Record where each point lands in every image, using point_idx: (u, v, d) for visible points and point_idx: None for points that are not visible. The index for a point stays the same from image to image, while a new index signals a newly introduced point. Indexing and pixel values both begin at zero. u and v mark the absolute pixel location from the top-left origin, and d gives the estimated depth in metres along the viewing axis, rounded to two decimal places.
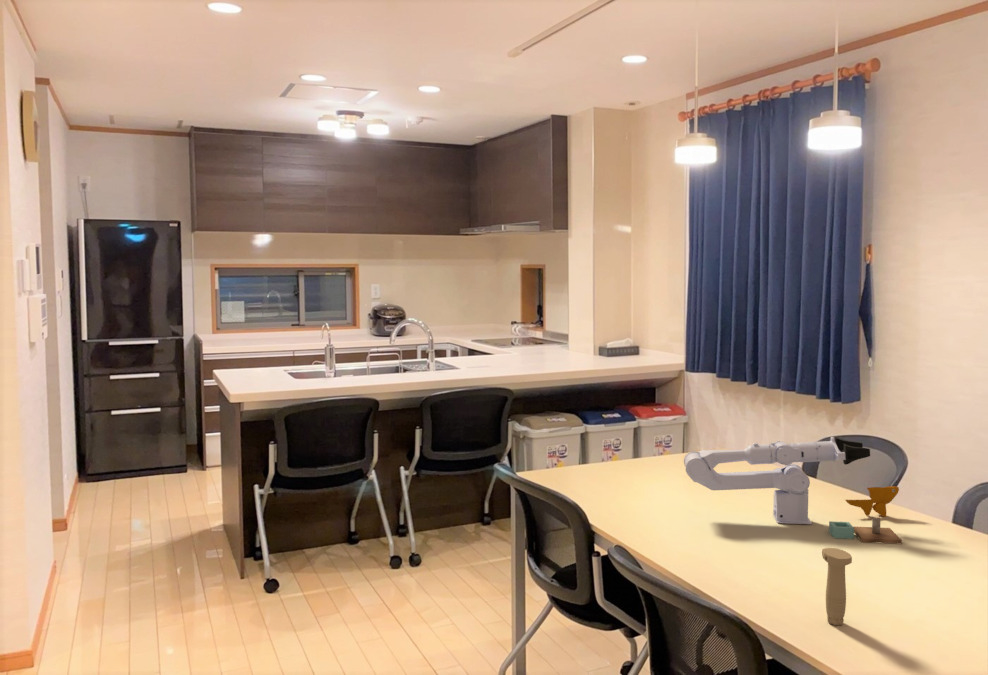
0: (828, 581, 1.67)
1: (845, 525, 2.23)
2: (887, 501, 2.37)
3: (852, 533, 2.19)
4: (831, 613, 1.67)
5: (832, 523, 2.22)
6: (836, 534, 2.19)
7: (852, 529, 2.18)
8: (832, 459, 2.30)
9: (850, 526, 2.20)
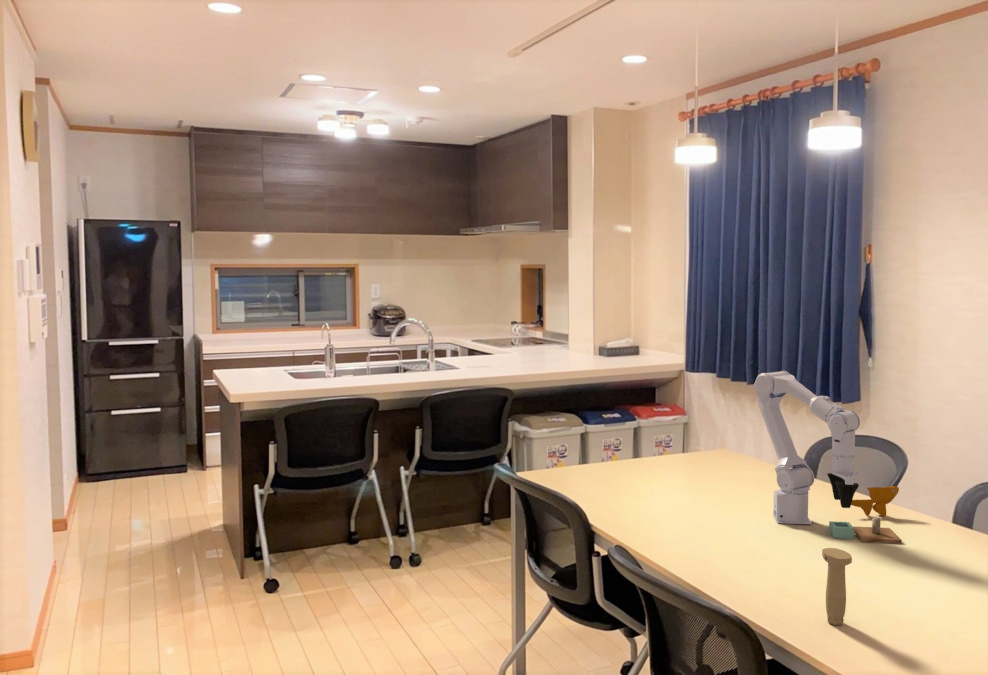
0: (828, 581, 1.67)
1: (845, 525, 2.23)
2: (887, 501, 2.37)
3: (852, 533, 2.19)
4: (831, 613, 1.67)
5: (832, 523, 2.22)
6: (836, 534, 2.19)
7: (852, 529, 2.18)
8: (836, 470, 2.18)
9: (850, 526, 2.20)
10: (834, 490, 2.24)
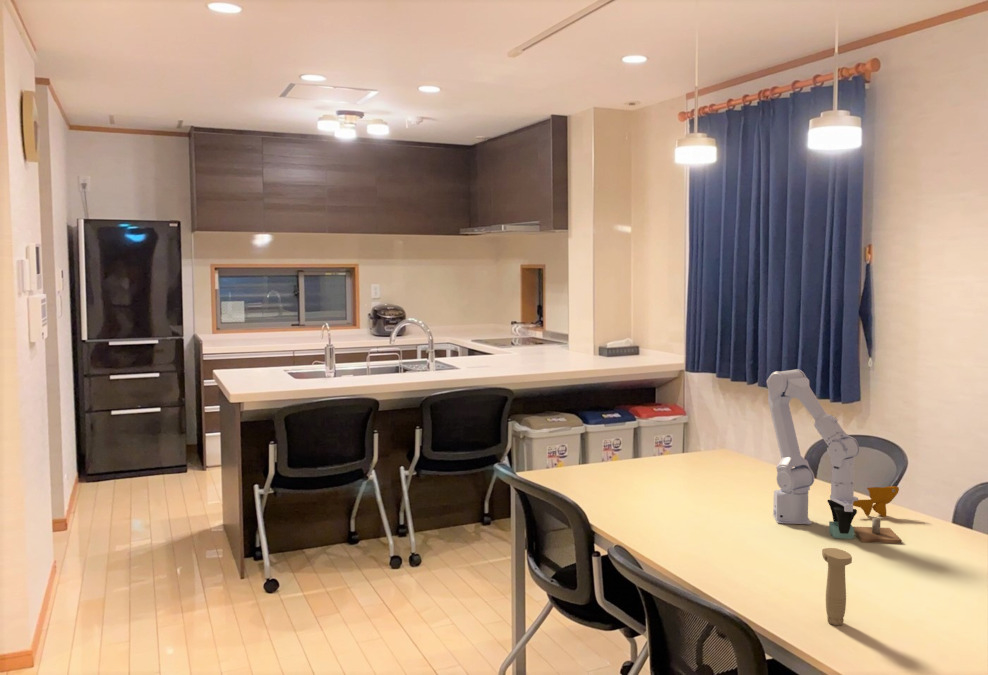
0: (828, 581, 1.67)
1: None
2: (887, 501, 2.37)
3: (852, 533, 2.19)
4: (831, 613, 1.67)
5: (832, 523, 2.22)
6: (836, 534, 2.19)
7: (852, 529, 2.18)
8: (836, 497, 2.19)
9: (850, 526, 2.20)
10: (834, 517, 2.24)
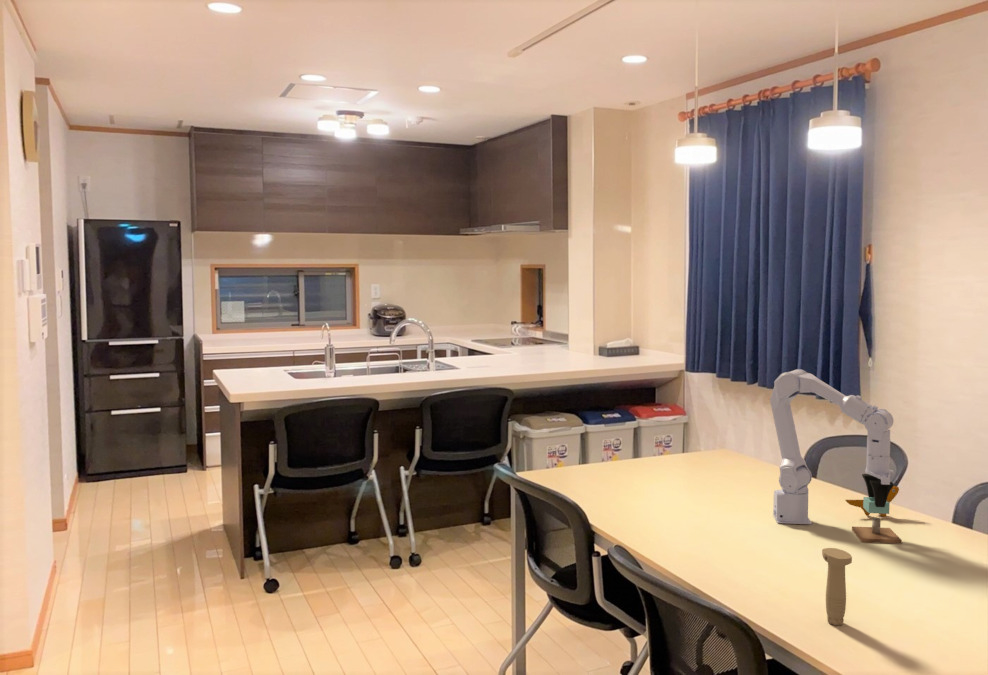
0: (828, 581, 1.67)
1: None
2: None
3: (887, 508, 2.16)
4: (831, 613, 1.67)
5: (867, 498, 2.20)
6: (871, 509, 2.17)
7: (887, 504, 2.16)
8: (872, 470, 2.17)
9: None
10: (869, 491, 2.22)
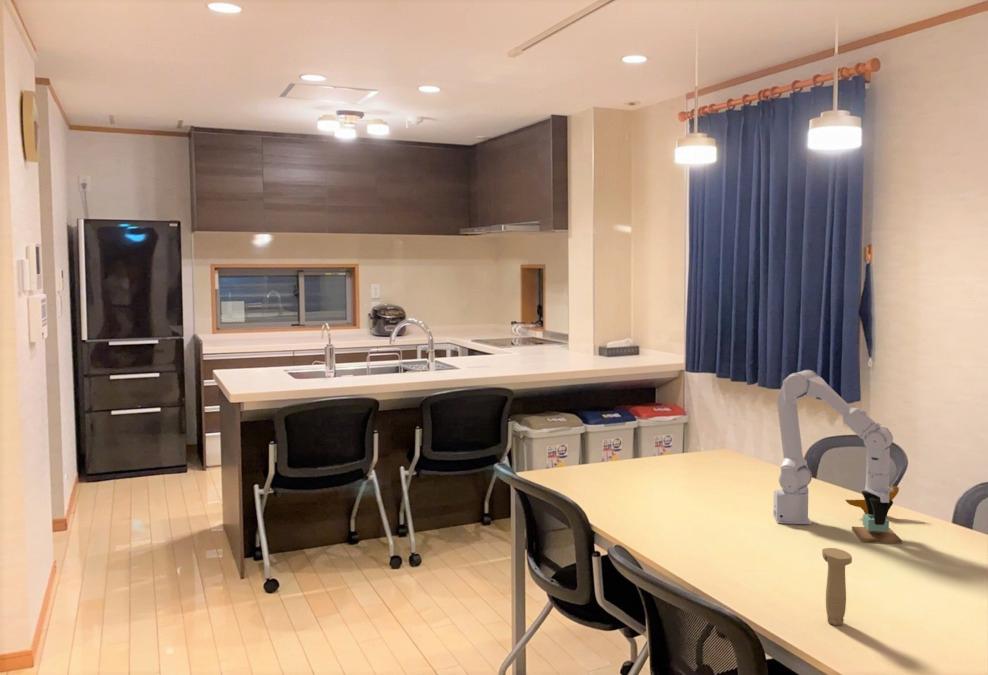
0: (828, 581, 1.67)
1: None
2: None
3: (887, 526, 2.17)
4: (831, 613, 1.67)
5: (866, 516, 2.21)
6: (870, 527, 2.18)
7: (887, 522, 2.17)
8: (871, 488, 2.17)
9: None
10: (869, 508, 2.22)
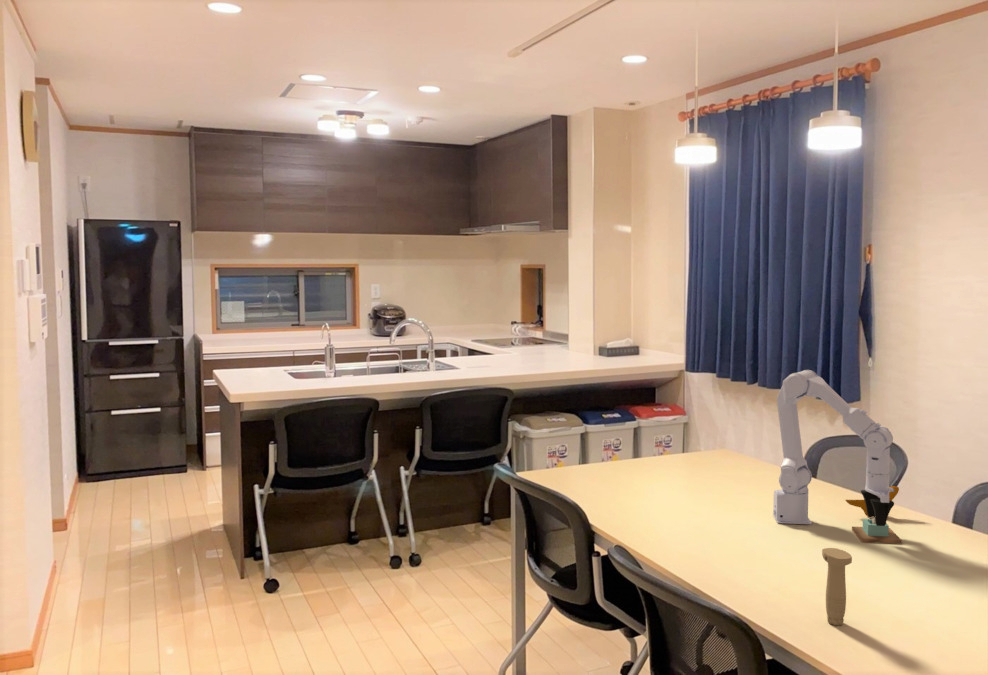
0: (828, 581, 1.67)
1: None
2: None
3: (887, 531, 2.17)
4: (831, 613, 1.67)
5: (866, 521, 2.21)
6: (870, 532, 2.18)
7: (887, 527, 2.17)
8: (871, 488, 2.17)
9: None
10: (868, 507, 2.23)
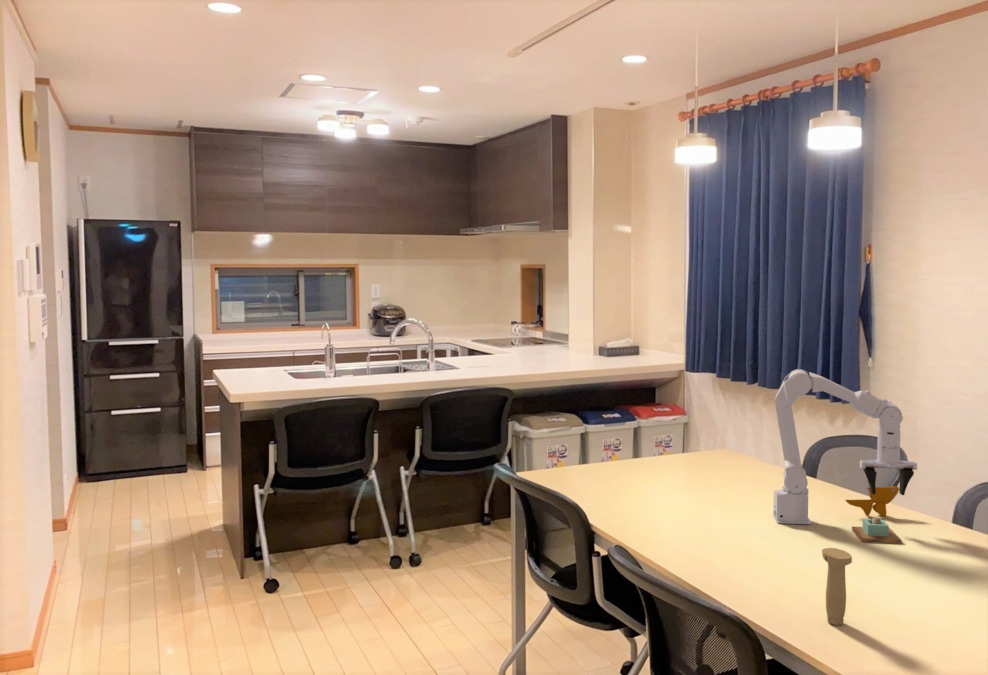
0: (828, 581, 1.67)
1: None
2: (887, 501, 2.37)
3: (887, 531, 2.17)
4: (831, 613, 1.67)
5: (866, 521, 2.21)
6: (870, 532, 2.18)
7: (887, 527, 2.17)
8: None
9: (884, 524, 2.18)
10: None
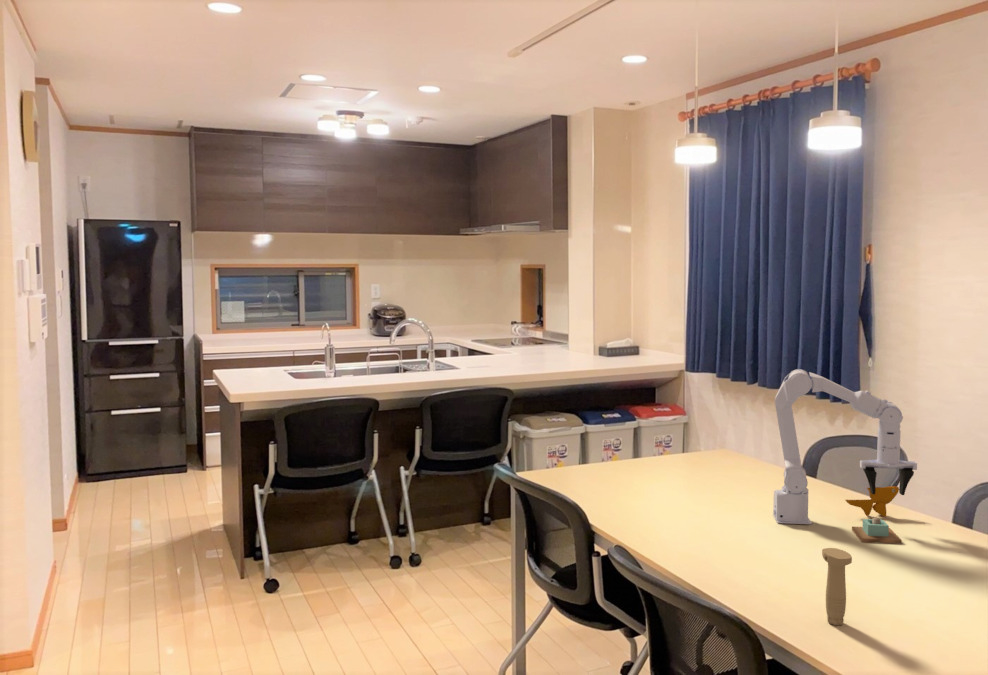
0: (828, 581, 1.67)
1: None
2: (887, 501, 2.37)
3: (887, 531, 2.17)
4: (831, 613, 1.67)
5: (866, 521, 2.21)
6: (870, 532, 2.18)
7: (887, 527, 2.17)
8: None
9: (884, 524, 2.18)
10: None
